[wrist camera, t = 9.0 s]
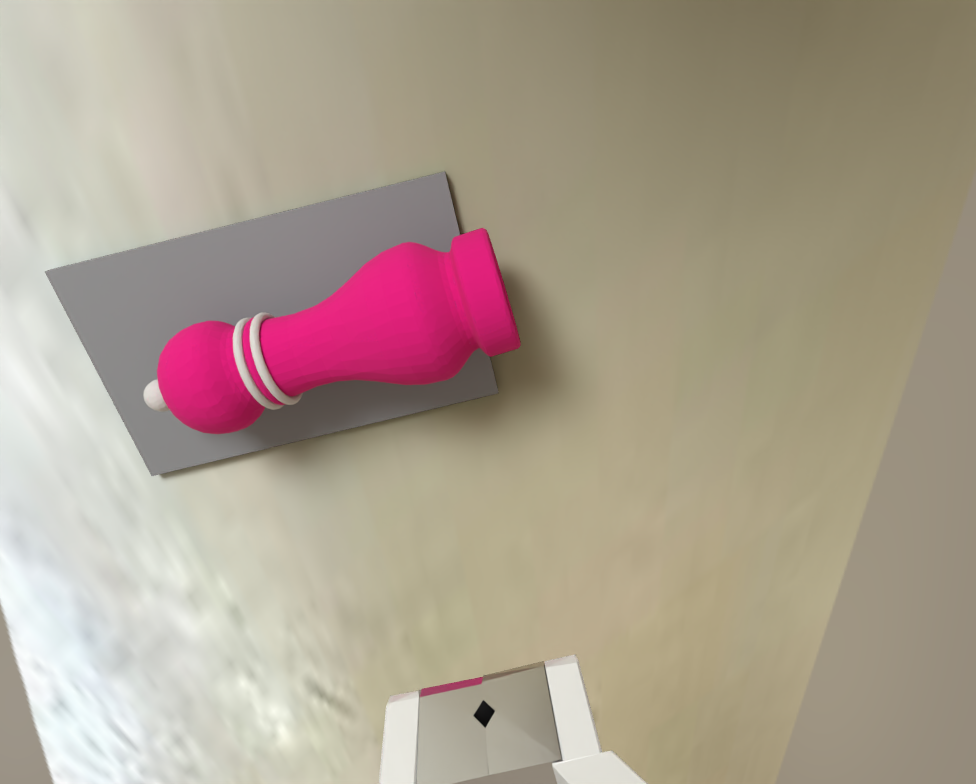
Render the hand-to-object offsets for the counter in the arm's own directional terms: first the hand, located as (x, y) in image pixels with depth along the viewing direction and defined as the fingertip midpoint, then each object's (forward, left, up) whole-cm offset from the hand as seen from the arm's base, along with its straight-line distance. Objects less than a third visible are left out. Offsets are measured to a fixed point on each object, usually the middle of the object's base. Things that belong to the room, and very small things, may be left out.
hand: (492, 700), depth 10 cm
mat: (-3, -9, -28) cm, 29 cm away
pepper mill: (0, +3, -23) cm, 23 cm away
